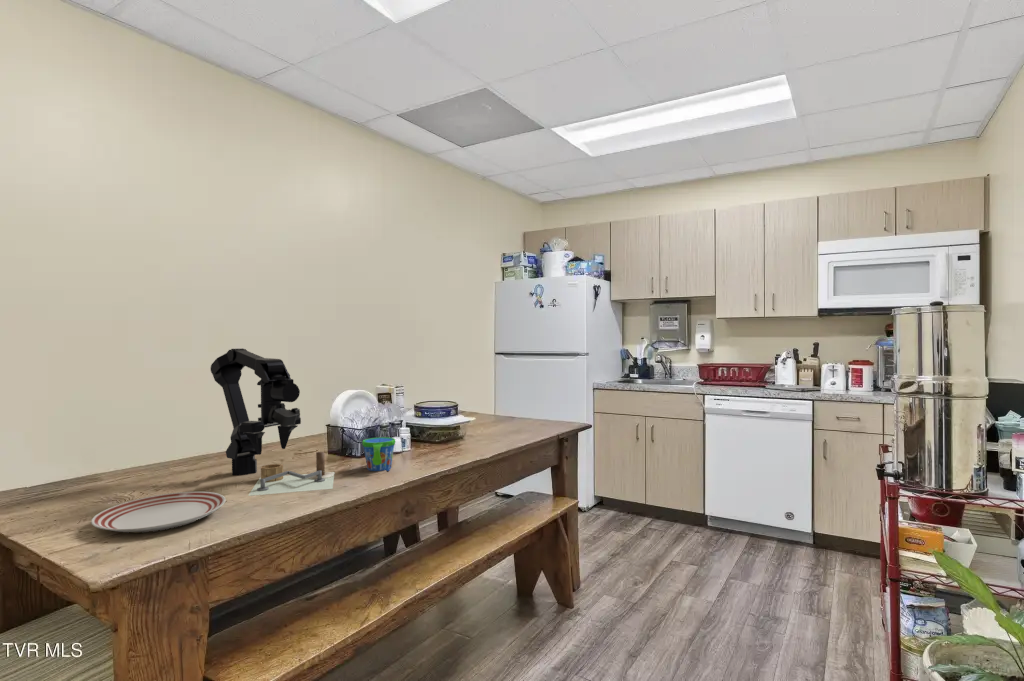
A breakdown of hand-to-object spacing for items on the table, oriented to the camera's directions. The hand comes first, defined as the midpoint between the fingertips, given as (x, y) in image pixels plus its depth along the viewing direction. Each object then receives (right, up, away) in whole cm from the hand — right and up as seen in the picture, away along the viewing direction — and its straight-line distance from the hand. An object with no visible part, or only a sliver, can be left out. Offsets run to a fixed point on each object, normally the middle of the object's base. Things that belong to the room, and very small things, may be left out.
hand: (271, 451), depth 169 cm
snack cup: (+30, -9, +13) cm, 34 cm away
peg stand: (+14, -8, +3) cm, 16 cm away
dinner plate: (-12, -10, -35) cm, 38 cm away
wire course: (+9, -9, -5) cm, 14 cm away
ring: (0, -8, 0) cm, 8 cm away
